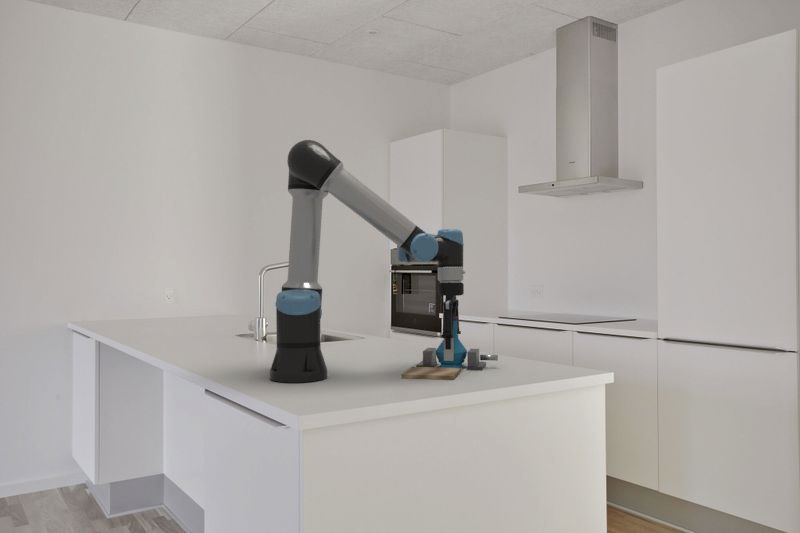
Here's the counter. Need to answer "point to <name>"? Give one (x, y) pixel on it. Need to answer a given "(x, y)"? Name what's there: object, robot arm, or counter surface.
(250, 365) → the counter surface
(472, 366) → the vise
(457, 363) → the blue vase
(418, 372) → the pad
